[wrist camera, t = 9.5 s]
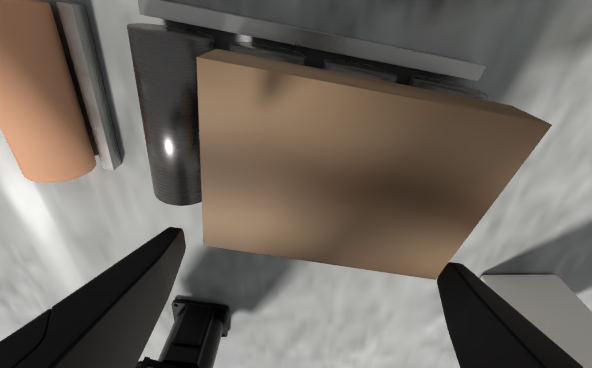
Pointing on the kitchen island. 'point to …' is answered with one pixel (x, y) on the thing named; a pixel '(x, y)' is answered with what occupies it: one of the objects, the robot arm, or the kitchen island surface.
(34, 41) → the roller
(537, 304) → the milk carton
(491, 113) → the slab
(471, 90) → the track
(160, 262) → the robot arm
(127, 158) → the kitchen island surface
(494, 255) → the kitchen island surface
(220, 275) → the kitchen island surface
